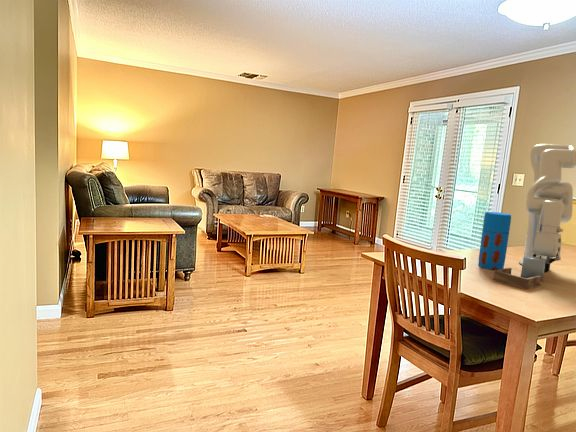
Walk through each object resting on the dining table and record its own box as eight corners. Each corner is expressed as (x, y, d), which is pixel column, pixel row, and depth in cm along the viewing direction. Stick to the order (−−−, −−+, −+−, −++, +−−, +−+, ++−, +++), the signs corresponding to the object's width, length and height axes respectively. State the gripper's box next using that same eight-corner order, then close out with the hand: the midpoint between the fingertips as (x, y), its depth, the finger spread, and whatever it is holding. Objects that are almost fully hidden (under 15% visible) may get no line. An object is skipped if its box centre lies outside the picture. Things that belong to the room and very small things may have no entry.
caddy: (507, 276, 174) (509, 267, 173) (540, 285, 163) (542, 275, 163) (492, 280, 167) (494, 270, 166) (526, 289, 156) (527, 279, 156)
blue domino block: (506, 271, 183) (515, 216, 179) (481, 268, 185) (488, 213, 181) (499, 265, 193) (507, 213, 190) (475, 263, 195) (482, 211, 192)
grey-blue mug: (532, 274, 181) (535, 254, 180) (551, 279, 174) (555, 258, 173) (516, 277, 173) (519, 257, 172) (536, 283, 167) (540, 261, 165)
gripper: (573, 232, 170) (566, 275, 173) (533, 225, 183) (526, 265, 185) (565, 233, 166) (558, 277, 168) (524, 226, 179) (518, 267, 181)
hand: (542, 271), depth 177 cm, fingers closed
